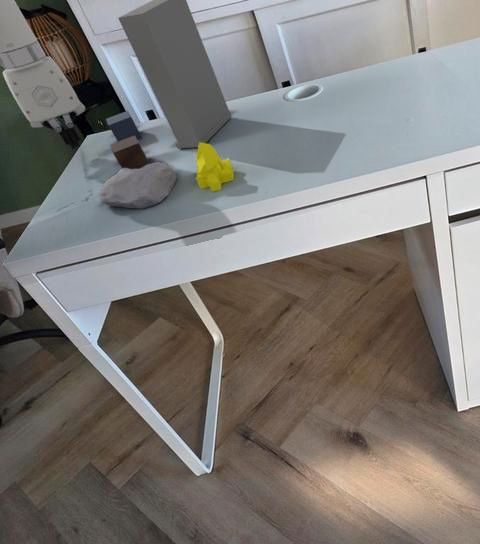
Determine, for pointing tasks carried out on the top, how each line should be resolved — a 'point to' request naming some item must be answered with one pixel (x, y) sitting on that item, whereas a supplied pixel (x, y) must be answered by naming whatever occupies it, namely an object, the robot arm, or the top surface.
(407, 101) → the top surface
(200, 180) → the crumpled paper
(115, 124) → the slate block
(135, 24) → the tall grey pillar
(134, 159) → the walnut block
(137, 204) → the grey rock
